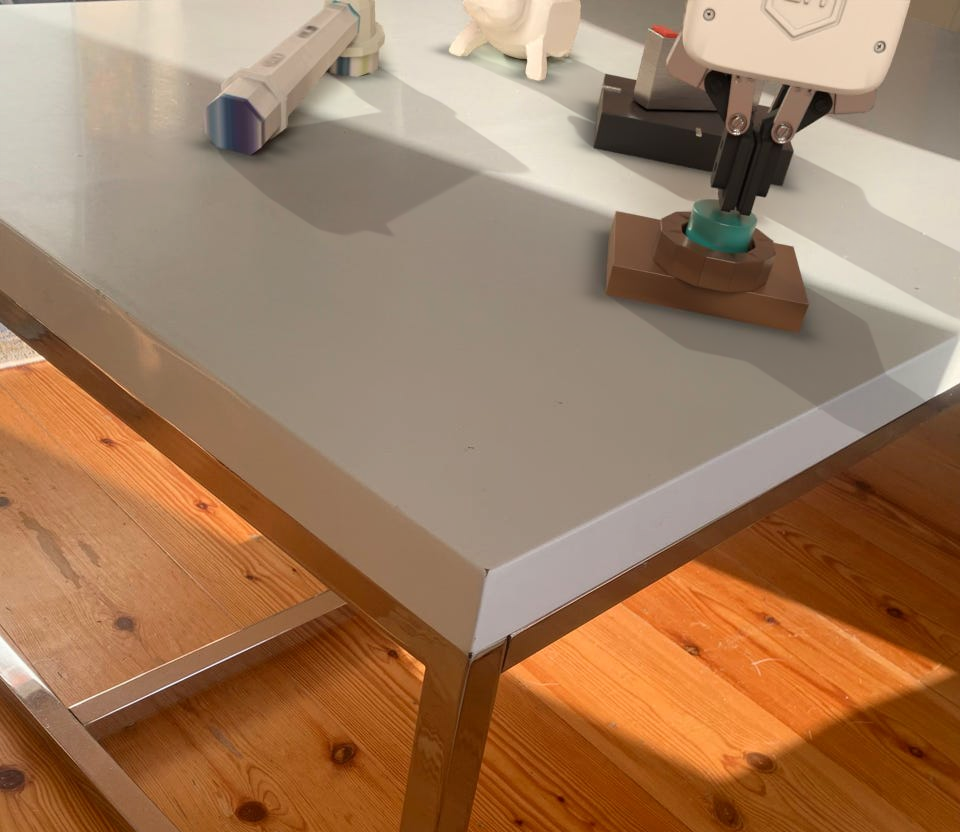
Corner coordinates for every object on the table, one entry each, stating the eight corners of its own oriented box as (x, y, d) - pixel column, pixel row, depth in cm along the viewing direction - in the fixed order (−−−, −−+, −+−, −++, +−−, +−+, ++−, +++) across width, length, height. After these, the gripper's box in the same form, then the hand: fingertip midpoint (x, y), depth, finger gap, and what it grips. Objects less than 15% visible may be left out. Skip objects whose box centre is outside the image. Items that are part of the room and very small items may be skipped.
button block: (782, 279, 69) (803, 218, 67) (797, 345, 62) (822, 279, 60) (607, 244, 69) (622, 181, 67) (603, 306, 62) (620, 238, 60)
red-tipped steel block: (740, 102, 87) (761, 30, 84) (756, 112, 86) (778, 40, 83) (631, 99, 83) (649, 24, 80) (646, 109, 82) (665, 33, 78)
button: (745, 236, 64) (755, 206, 63) (750, 261, 61) (760, 231, 60) (683, 223, 64) (692, 193, 63) (685, 248, 61) (694, 218, 60)
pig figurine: (483, 75, 102) (418, 37, 89) (513, -23, 100) (450, -78, 86) (568, 102, 100) (514, 67, 86) (600, 2, 98) (551, -50, 84)
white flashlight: (190, 84, 68) (331, -47, 85) (196, 185, 72) (329, 42, 90) (272, 104, 67) (397, -31, 84) (273, 205, 72) (391, 57, 89)
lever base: (766, 134, 92) (778, 95, 90) (783, 197, 81) (798, 154, 79) (596, 100, 92) (605, 60, 90) (590, 158, 81) (600, 114, 79)
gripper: (688, -217, 47) (596, 204, 58) (1039, -150, 47) (878, 258, 58) (683, -229, 53) (600, 155, 64) (995, -170, 53) (857, 204, 64)
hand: (733, 203), depth 61 cm, fingers closed
